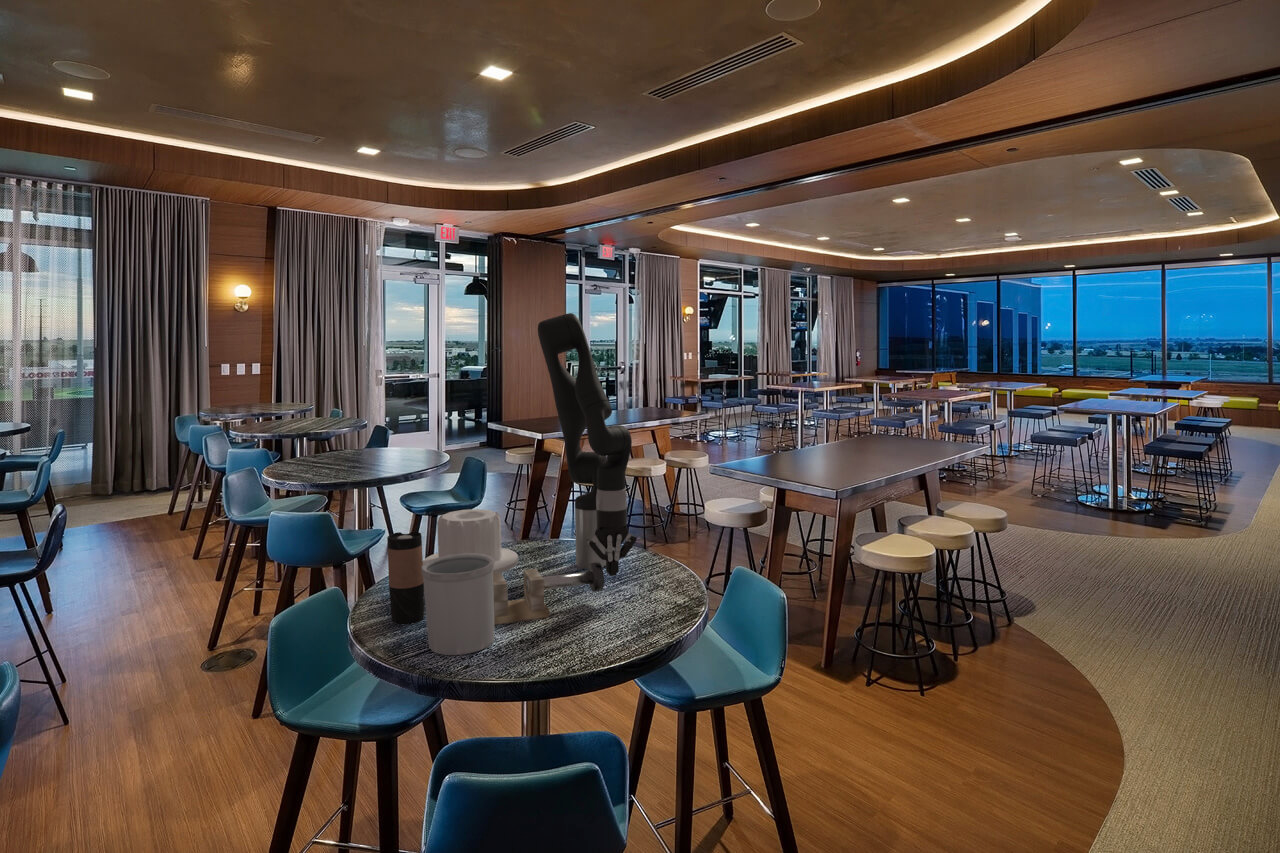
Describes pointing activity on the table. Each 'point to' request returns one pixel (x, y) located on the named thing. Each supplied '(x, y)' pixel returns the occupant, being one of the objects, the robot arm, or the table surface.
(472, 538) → the ribbed cylinder on disc
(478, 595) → the utensil holder
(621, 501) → the robot arm
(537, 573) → the block
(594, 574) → the shaft
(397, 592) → the travel mug
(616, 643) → the table surface
